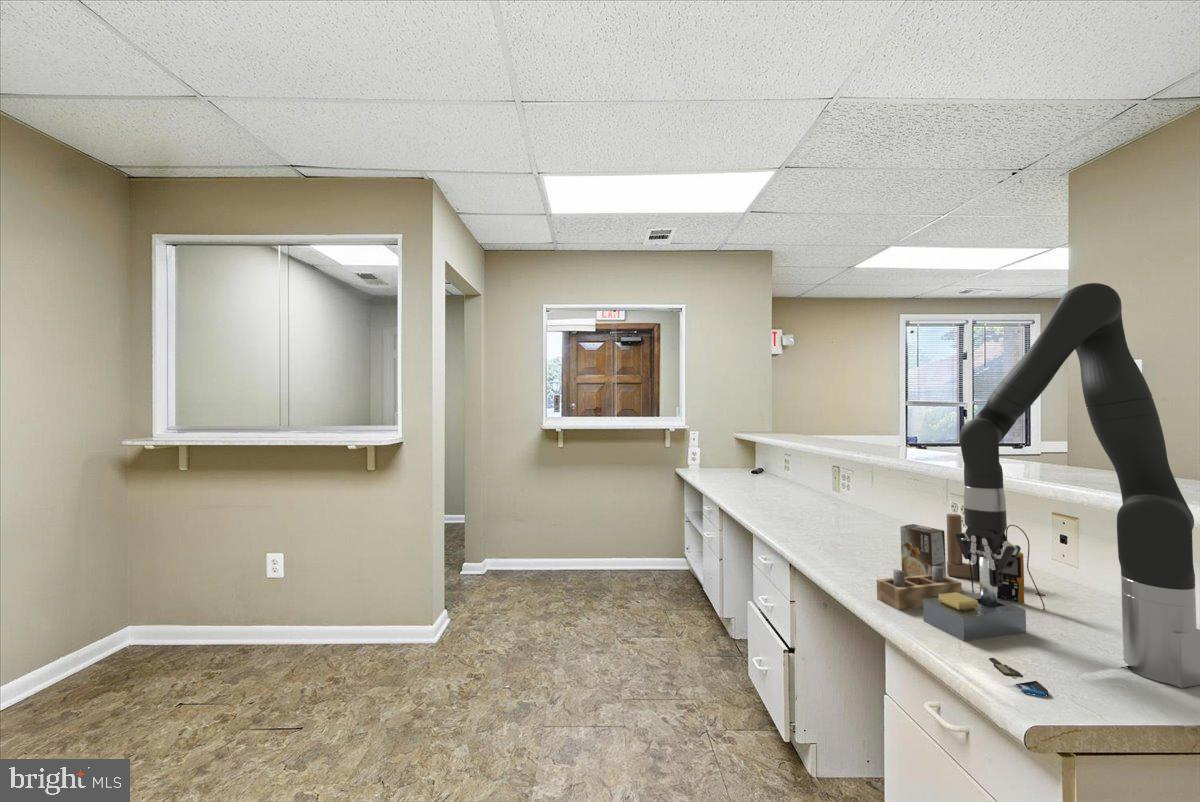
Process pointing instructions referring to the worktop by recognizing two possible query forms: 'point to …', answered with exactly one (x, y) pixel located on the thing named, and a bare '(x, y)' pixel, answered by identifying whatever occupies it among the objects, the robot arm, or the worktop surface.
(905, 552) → the coffee box
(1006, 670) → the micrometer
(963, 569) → the wooden block
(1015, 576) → the multimeter
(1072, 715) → the worktop surface
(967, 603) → the yellow square-headed peg
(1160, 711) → the worktop surface
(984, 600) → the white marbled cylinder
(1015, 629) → the tool block
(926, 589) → the bit rack
